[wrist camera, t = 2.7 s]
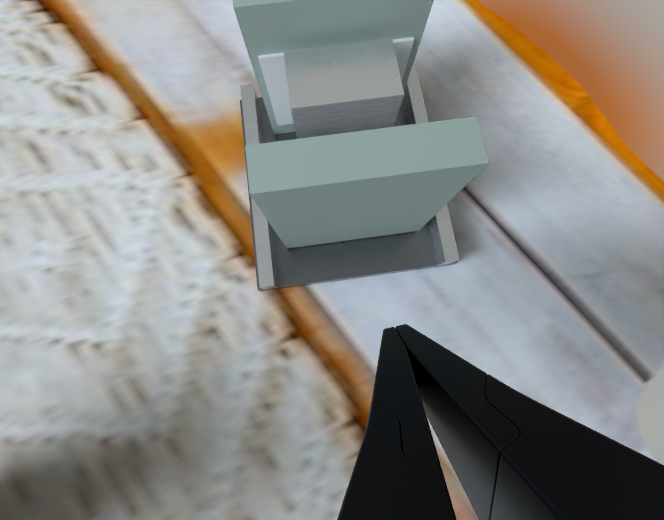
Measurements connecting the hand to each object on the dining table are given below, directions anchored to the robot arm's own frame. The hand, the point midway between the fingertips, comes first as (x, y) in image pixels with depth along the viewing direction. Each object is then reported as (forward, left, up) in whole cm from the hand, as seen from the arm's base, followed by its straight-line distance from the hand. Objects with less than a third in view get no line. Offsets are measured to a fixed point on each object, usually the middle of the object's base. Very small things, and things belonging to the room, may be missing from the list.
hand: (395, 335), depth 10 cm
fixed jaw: (+15, -8, -11) cm, 20 cm away
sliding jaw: (+7, -4, -11) cm, 13 cm away
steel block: (+12, -6, -11) cm, 17 cm away
